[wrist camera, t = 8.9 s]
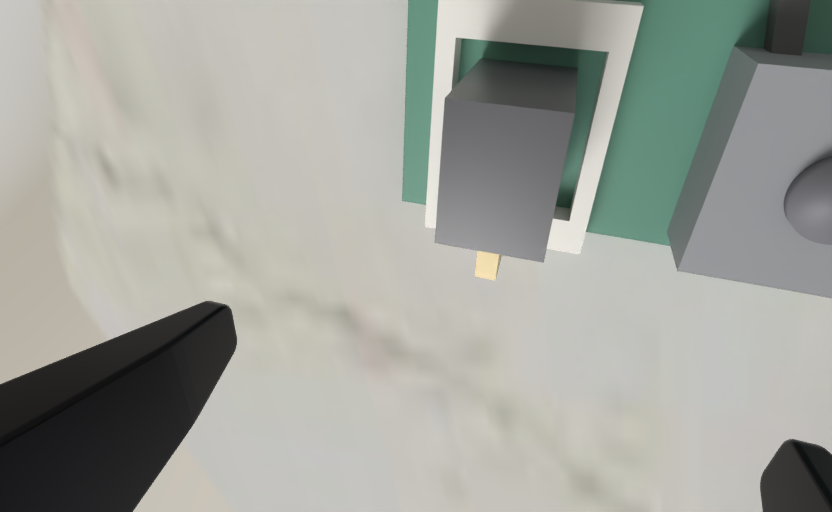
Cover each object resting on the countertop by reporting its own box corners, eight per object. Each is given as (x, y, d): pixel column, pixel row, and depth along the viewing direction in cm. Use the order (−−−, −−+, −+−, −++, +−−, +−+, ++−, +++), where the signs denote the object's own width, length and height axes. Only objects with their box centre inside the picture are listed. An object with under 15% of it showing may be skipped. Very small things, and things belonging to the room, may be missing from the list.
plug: (578, 68, 15) (574, 113, 11) (548, 213, 18) (537, 292, 14) (480, 58, 16) (444, 98, 12) (465, 200, 19) (432, 272, 15)
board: (1261, -360, 9) (1584, -505, 6) (859, 277, 17) (918, 349, 14) (427, -313, 13) (377, -393, 10) (407, 201, 20) (376, 246, 17)
